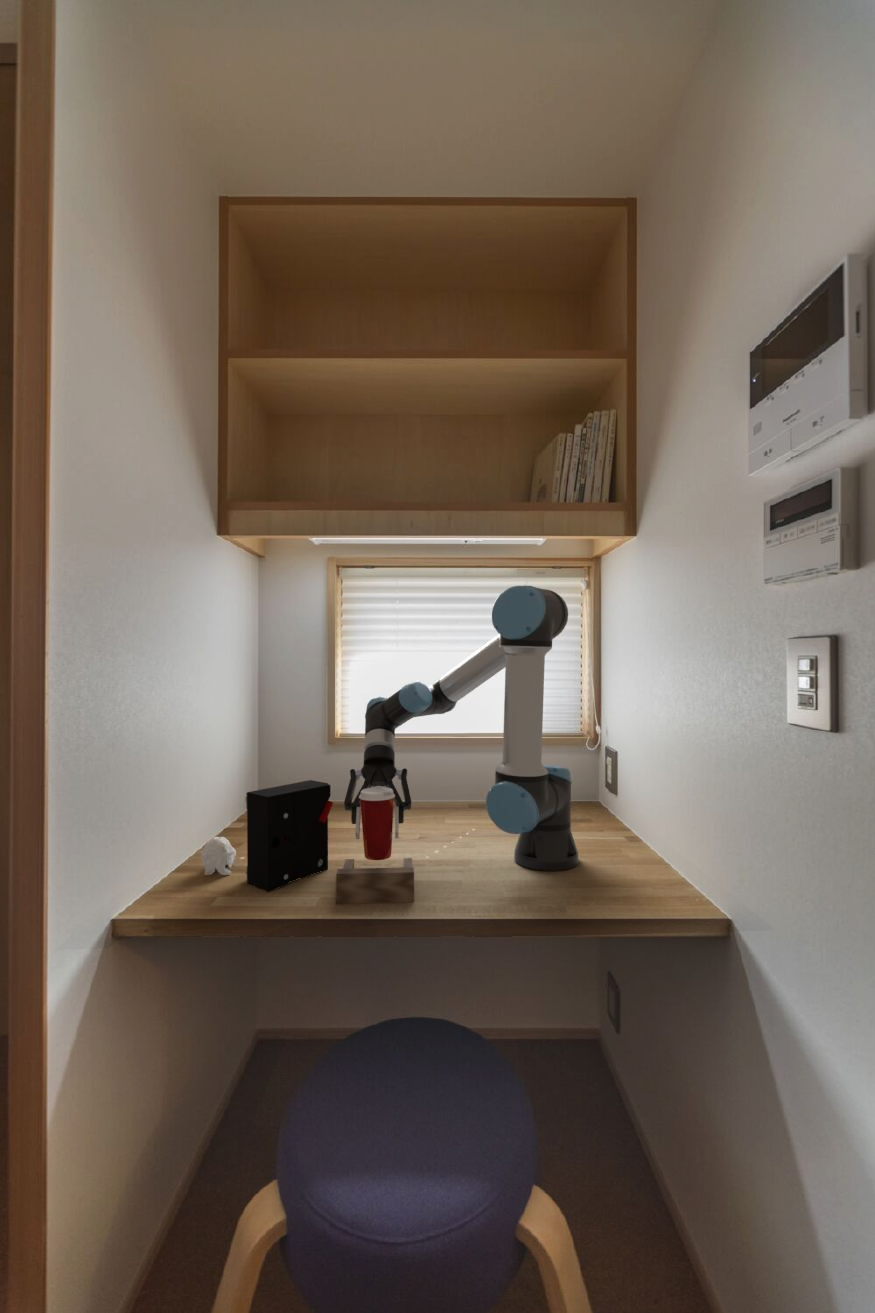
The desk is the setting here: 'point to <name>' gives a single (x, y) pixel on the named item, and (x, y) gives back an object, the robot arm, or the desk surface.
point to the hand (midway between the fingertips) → (377, 835)
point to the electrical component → (287, 833)
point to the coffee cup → (377, 822)
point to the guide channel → (375, 884)
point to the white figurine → (218, 856)
